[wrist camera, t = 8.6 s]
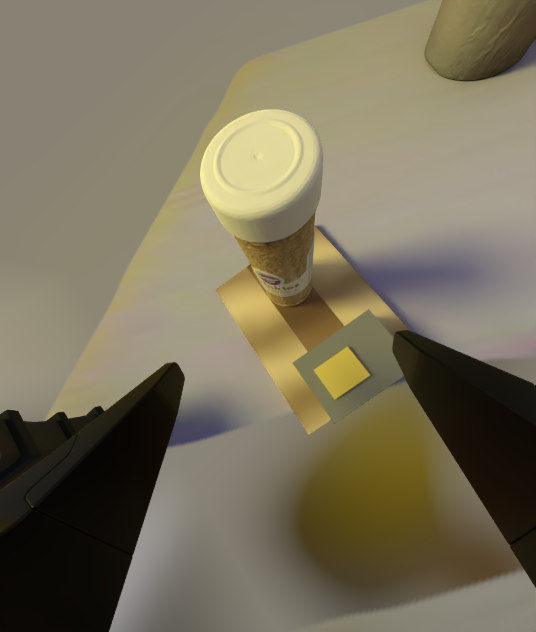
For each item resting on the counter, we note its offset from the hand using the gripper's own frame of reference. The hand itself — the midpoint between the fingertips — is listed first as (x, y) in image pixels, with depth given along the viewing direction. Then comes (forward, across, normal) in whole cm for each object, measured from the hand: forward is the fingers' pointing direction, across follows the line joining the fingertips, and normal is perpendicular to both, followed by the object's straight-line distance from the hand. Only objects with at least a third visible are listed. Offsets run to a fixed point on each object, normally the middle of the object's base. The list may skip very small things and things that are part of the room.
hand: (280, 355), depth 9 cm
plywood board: (+11, -2, +6) cm, 12 cm away
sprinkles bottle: (+12, -1, +2) cm, 13 cm away
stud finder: (+8, -5, +9) cm, 12 cm away
